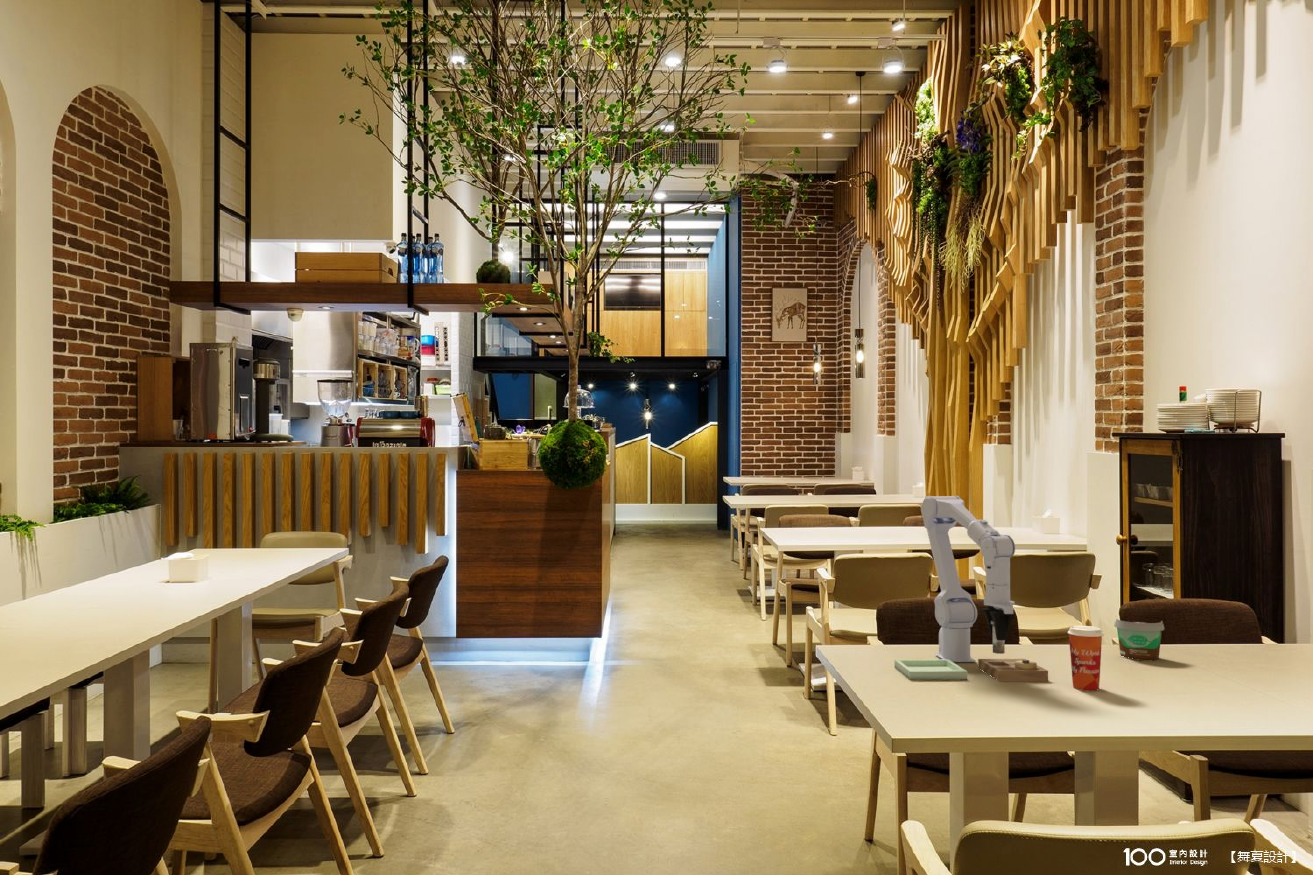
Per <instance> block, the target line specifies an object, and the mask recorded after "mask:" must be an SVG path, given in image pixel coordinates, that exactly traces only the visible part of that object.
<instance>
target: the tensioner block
mask: <svg viewBox="0 0 1313 875" xmlns="http://www.w3.org/2000/svg"><path fill="white" fill-rule="evenodd" d="M977 666H978V668H979V669H978V668H977V669H978V670H980V669H981V670H983V671H984V672H986V673H987V674H986V673H985V674H986V675H988V676H989V675H991V676H992V677H991V676H990V677H991V678H993V677H994V678H995V679H994V678H993V679H994V680H996V679H997V680H998V682H1049V670H1047V669H1045V668H1044V667H1042V666H1040V665H1038V664H1037V662H1035V661H1031V660H1029V659H1026V658H978V659H977ZM981 670H980V671H981ZM983 671H982V672H983ZM984 672H983V673H984ZM997 680H996V681H997Z"/></svg>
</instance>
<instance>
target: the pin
mask: <svg viewBox="0 0 1313 875" xmlns="http://www.w3.org/2000/svg"><path fill="white" fill-rule="evenodd" d="M991 625H992V635H993V637H992V653H993V654H998V655H999V654H1000V655H1002V654H1005V653H1006V652H1005V651H1006V650H1005V649H1006V648H1005V640H997V639H996V634H995V626H994V622H993V620H991Z"/></svg>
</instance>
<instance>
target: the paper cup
mask: <svg viewBox="0 0 1313 875" xmlns="http://www.w3.org/2000/svg"><path fill="white" fill-rule="evenodd" d="M1067 634H1068V639H1069V640H1068V641H1069V642H1068V643H1069V652H1070V666H1071V668H1070V669H1071V676H1072V678H1071V679H1072V680H1071V682H1072V687H1073V688H1074V689H1077V690H1079V689H1083V690H1082V691H1086V690H1095V691H1098V690H1097V689H1100V683H1101V682H1100V678H1101V665H1102V664H1101V660H1102V641H1103V636H1105V634H1104V633H1103V630H1101V628H1100V627H1097V626H1092V625H1090V626H1089V625H1072V626H1070V627H1069V629H1068V631H1067Z"/></svg>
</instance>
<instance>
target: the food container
mask: <svg viewBox="0 0 1313 875" xmlns="http://www.w3.org/2000/svg"><path fill="white" fill-rule="evenodd" d="M1164 625H1165V624H1164V623H1163V621H1160V622H1155V623H1154V622H1151V623H1150V622H1145V621H1131V622H1130V621H1127V620H1126V621H1125V620H1120V619H1117V618H1116V619H1115V621H1114V625H1113V626H1114V627H1115V628H1116V629H1117V639H1118V646H1119V654H1120V655H1121V656H1124V657H1129V658H1133V659H1139V660H1138V661H1143V660H1152V661H1157V659H1158V660H1159V658H1160V652H1161V651H1160V650H1161V640H1162V631H1164V630H1165V626H1164ZM1121 656H1120V657H1121ZM1124 657H1123V658H1124ZM1133 659H1132V660H1133Z"/></svg>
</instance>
